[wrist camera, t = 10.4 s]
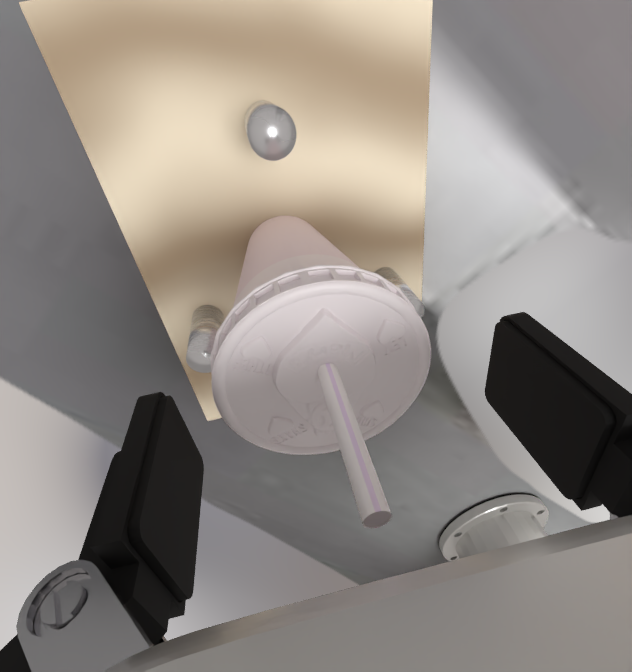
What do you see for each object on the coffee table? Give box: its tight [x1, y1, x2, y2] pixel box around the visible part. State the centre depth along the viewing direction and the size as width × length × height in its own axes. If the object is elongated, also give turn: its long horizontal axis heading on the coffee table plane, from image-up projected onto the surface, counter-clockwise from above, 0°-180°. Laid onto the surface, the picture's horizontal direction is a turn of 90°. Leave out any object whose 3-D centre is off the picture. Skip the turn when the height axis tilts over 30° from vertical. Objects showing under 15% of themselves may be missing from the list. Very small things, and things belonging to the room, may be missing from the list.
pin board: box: [19, 0, 432, 421], centre depth 18 cm, size 20×14×5 cm
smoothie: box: [210, 216, 431, 528], centre depth 13 cm, size 6×6×14 cm
